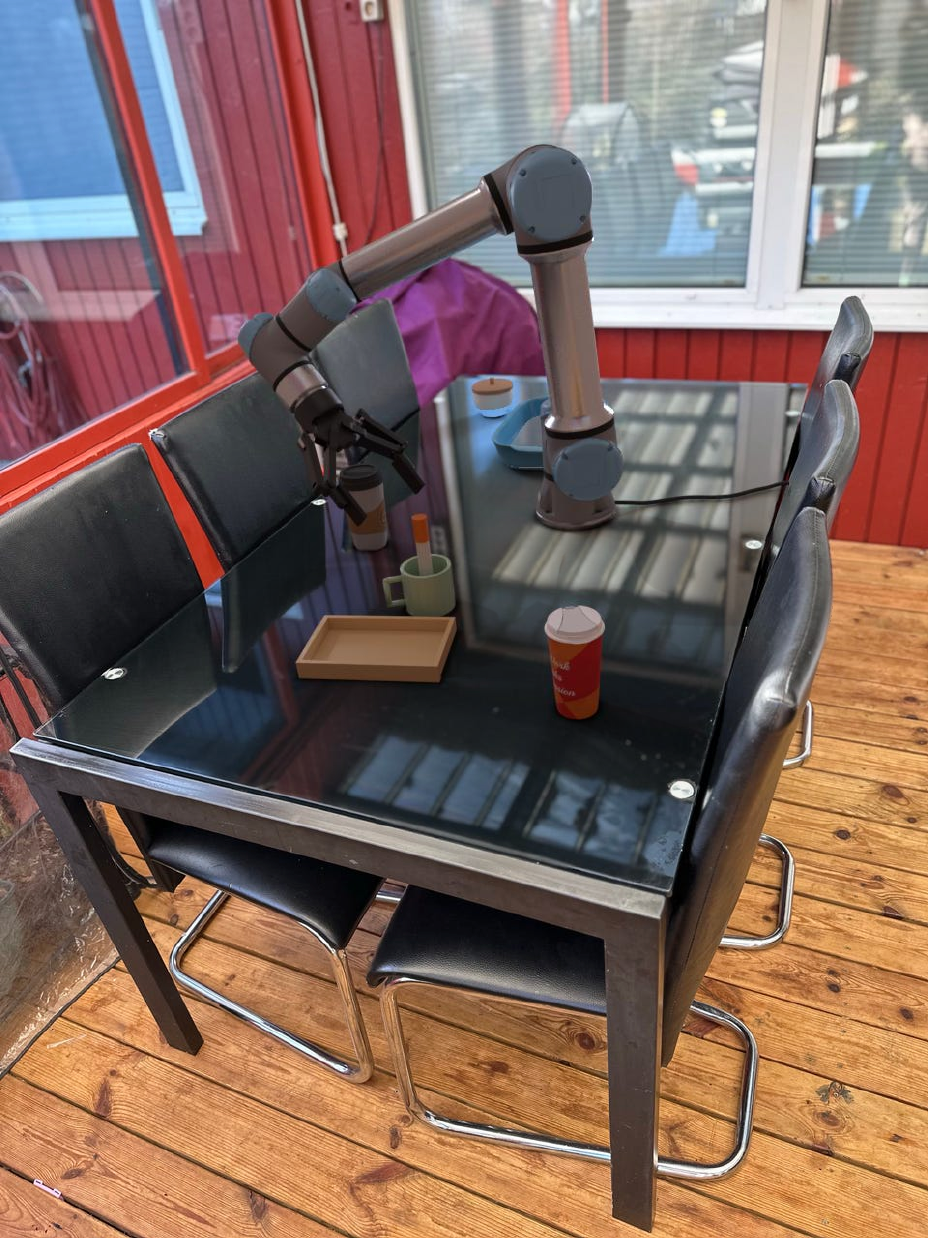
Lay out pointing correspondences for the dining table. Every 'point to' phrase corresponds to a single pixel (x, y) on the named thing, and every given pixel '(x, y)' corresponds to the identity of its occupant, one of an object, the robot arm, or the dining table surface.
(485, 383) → the trinket box
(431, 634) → the tray
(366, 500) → the coffee cup
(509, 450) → the casserole dish
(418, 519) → the marker
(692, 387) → the dining table surface
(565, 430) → the robot arm
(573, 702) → the paper cup
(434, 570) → the mug
